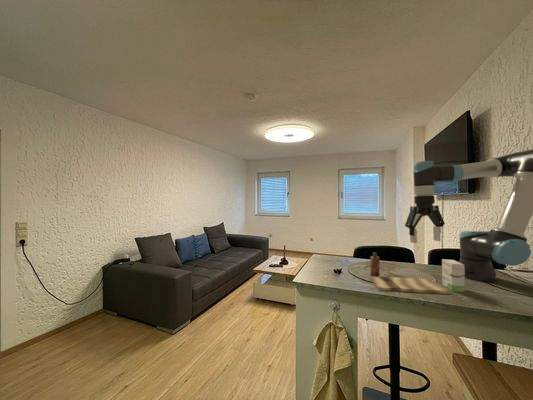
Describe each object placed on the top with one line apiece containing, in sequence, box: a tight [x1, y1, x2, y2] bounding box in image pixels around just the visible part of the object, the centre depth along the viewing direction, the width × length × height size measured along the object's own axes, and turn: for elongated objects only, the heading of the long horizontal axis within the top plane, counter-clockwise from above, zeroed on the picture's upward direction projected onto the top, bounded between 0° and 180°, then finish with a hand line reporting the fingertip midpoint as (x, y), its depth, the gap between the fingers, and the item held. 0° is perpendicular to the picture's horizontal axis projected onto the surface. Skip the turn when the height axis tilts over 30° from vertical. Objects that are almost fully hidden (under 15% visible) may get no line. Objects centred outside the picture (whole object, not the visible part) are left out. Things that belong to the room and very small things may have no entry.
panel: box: [368, 275, 452, 295], centre depth 103 cm, size 28×14×1 cm, turn 81°
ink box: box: [441, 258, 466, 293], centre depth 100 cm, size 9×5×12 cm, turn 166°
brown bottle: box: [370, 252, 380, 277], centre depth 116 cm, size 4×4×12 cm
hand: (425, 241), depth 103 cm, fingers open, 13 cm apart
